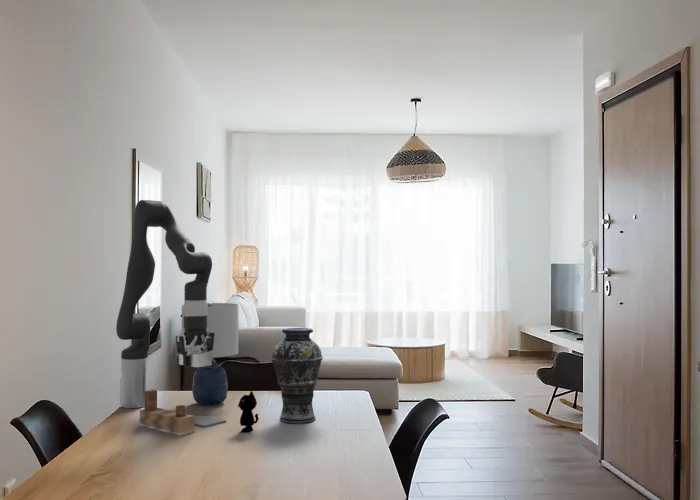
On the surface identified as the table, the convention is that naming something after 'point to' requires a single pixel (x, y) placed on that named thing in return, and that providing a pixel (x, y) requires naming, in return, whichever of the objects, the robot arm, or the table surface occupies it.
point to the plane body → (165, 417)
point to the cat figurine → (247, 412)
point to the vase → (297, 374)
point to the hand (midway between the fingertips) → (195, 365)
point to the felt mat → (207, 421)
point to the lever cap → (198, 358)
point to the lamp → (216, 353)
